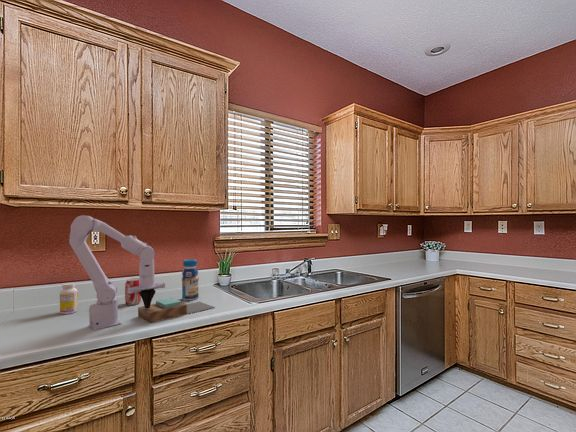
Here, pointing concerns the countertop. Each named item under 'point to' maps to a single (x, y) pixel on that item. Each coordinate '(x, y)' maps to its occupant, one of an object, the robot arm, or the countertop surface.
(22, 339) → the countertop surface
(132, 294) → the soda can
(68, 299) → the supplement bottle
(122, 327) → the countertop surface
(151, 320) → the brown wooden block
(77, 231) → the robot arm
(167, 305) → the teal flat block
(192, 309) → the mat
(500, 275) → the countertop surface
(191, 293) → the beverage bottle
